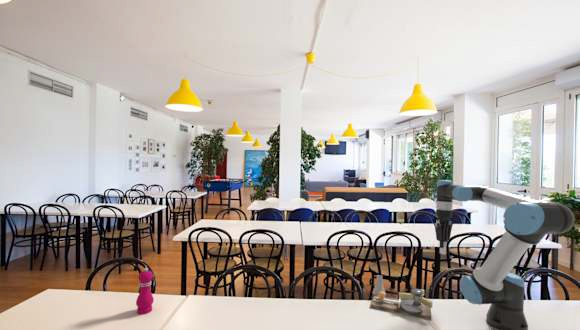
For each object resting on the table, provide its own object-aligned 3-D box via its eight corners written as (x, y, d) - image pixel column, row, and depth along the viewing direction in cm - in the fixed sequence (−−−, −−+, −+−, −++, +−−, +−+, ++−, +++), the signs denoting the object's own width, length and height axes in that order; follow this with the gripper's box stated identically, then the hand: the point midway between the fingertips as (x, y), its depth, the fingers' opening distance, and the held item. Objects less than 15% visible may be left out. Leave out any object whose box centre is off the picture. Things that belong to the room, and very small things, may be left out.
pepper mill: (132, 312, 135) (133, 268, 135) (146, 305, 142) (147, 264, 142) (142, 316, 132) (143, 271, 132) (156, 309, 138) (157, 266, 138)
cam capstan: (421, 301, 151) (422, 285, 151) (443, 313, 138) (444, 296, 138) (395, 305, 145) (396, 288, 145) (416, 319, 133) (416, 300, 133)
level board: (430, 308, 147) (430, 303, 147) (431, 319, 136) (431, 314, 136) (374, 297, 157) (374, 292, 157) (370, 307, 146) (371, 302, 146)
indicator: (400, 301, 150) (401, 291, 150) (400, 308, 143) (400, 298, 143) (378, 296, 154) (379, 287, 154) (377, 303, 147) (377, 294, 147)
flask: (386, 298, 157) (387, 279, 157) (372, 296, 159) (373, 277, 159) (385, 292, 164) (385, 274, 164) (371, 290, 166) (372, 273, 166)
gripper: (445, 207, 163) (444, 250, 163) (429, 208, 157) (428, 253, 157) (458, 209, 156) (457, 254, 156) (442, 210, 150) (441, 257, 150)
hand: (442, 253), depth 157 cm, fingers closed
